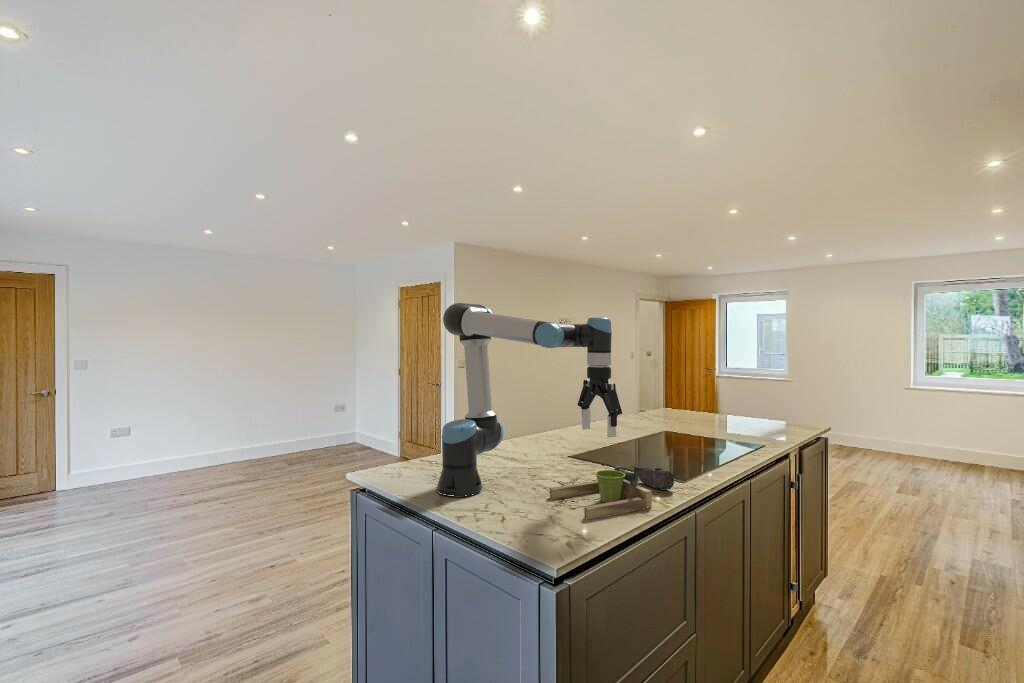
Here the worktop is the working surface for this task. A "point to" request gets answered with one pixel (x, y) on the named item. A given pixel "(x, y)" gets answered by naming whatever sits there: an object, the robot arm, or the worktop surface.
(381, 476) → the worktop surface
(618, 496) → the plant pot
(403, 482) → the worktop surface
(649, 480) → the perforated stone tool
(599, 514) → the bay
